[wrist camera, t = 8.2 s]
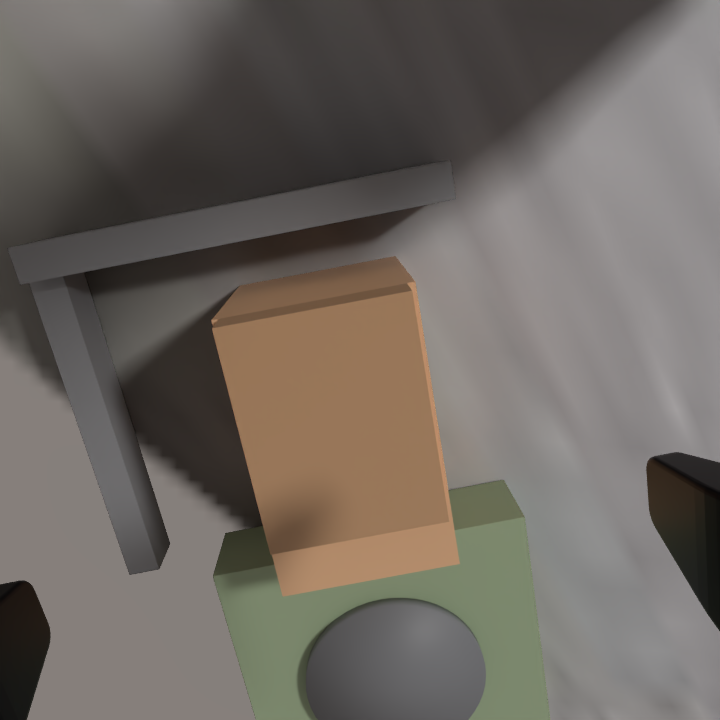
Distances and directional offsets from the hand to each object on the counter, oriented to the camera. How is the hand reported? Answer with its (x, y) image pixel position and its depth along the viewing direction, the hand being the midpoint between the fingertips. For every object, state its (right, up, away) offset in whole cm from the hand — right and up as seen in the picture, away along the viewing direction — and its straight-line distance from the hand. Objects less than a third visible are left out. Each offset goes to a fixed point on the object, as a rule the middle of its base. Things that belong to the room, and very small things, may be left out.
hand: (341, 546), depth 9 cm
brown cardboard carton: (0, +2, +12) cm, 12 cm away
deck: (-1, -2, +13) cm, 13 cm away
